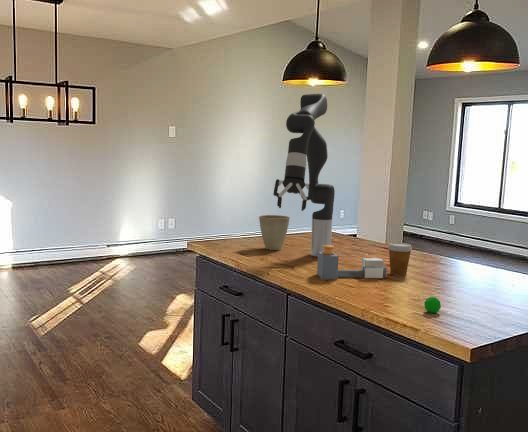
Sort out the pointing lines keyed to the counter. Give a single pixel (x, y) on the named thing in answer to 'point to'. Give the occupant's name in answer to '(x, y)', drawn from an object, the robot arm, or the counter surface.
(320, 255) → the grey hollow block
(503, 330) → the counter surface
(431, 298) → the polyhedron
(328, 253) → the plunger
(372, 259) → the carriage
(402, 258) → the disposable coffee cup
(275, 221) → the plant pot
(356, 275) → the rail
